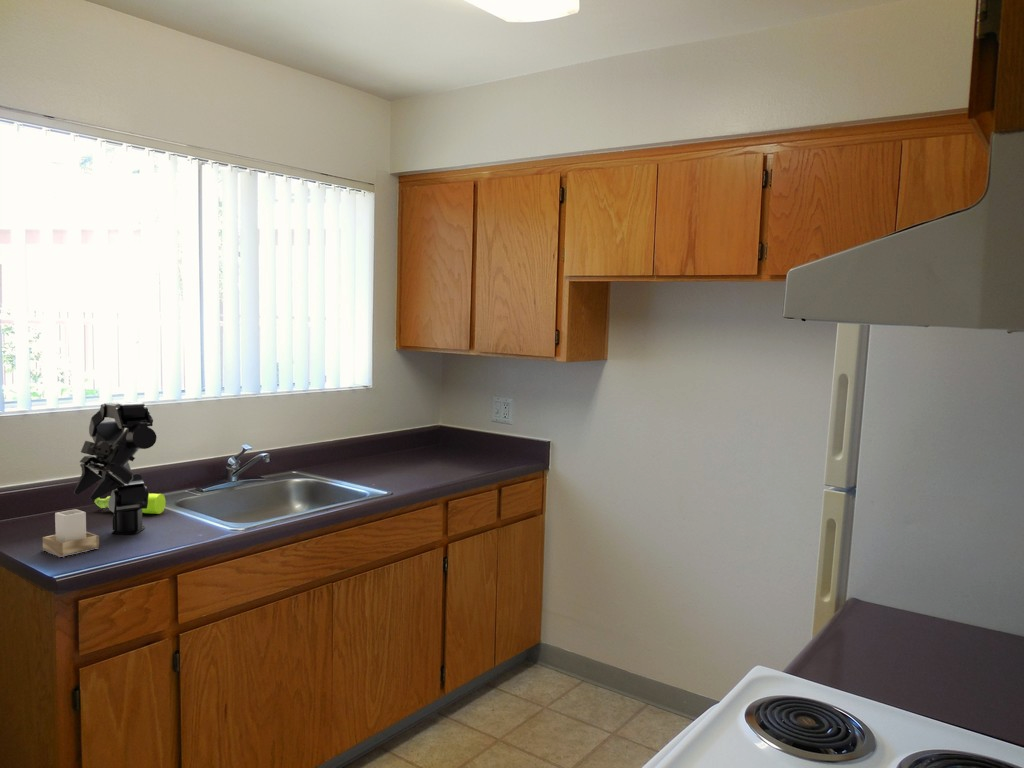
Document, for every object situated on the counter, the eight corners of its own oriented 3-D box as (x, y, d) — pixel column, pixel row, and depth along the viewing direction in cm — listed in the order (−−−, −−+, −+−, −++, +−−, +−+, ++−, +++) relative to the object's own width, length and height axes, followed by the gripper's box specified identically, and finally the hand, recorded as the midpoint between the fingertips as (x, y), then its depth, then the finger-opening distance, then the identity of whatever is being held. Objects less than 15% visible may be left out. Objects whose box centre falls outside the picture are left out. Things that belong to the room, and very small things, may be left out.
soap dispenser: (169, 500, 232) (107, 498, 233) (159, 490, 226) (95, 488, 228) (162, 518, 228) (100, 515, 230) (152, 508, 223) (88, 506, 224)
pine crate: (81, 542, 196) (80, 529, 196) (99, 549, 191) (98, 535, 191) (42, 551, 189) (42, 537, 188) (60, 558, 183) (59, 544, 183)
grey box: (76, 543, 193) (75, 509, 193) (86, 547, 190) (85, 512, 190) (56, 548, 189) (54, 512, 188) (65, 551, 186) (64, 516, 186)
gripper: (86, 425, 200) (42, 473, 193) (118, 432, 189) (73, 483, 181) (117, 450, 207) (76, 497, 200) (151, 458, 196) (109, 509, 188)
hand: (83, 496), depth 192 cm, fingers open, 9 cm apart
